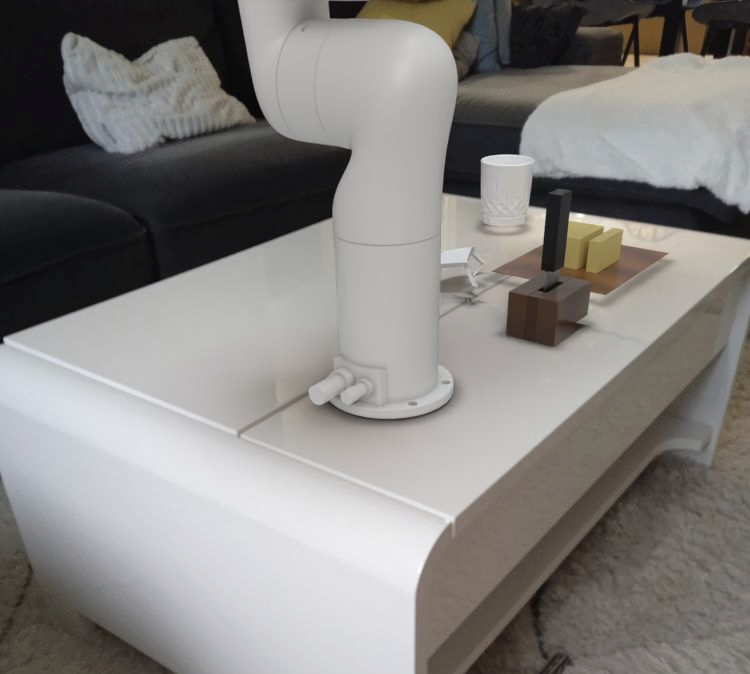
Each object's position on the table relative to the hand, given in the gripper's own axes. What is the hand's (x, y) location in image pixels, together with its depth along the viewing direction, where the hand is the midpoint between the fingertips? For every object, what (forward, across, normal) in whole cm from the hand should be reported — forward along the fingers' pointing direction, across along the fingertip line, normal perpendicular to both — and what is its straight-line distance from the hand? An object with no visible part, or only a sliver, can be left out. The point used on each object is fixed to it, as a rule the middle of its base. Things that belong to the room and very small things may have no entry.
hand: (623, 1), depth 93 cm
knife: (+31, +5, -22) cm, 38 cm away
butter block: (+30, -3, 0) cm, 30 cm away
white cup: (+31, -20, +12) cm, 39 cm away
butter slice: (+30, +2, 0) cm, 30 cm away
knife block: (+31, +5, -22) cm, 38 cm away
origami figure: (+31, -10, -18) cm, 37 cm away
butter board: (+31, -1, 0) cm, 31 cm away
